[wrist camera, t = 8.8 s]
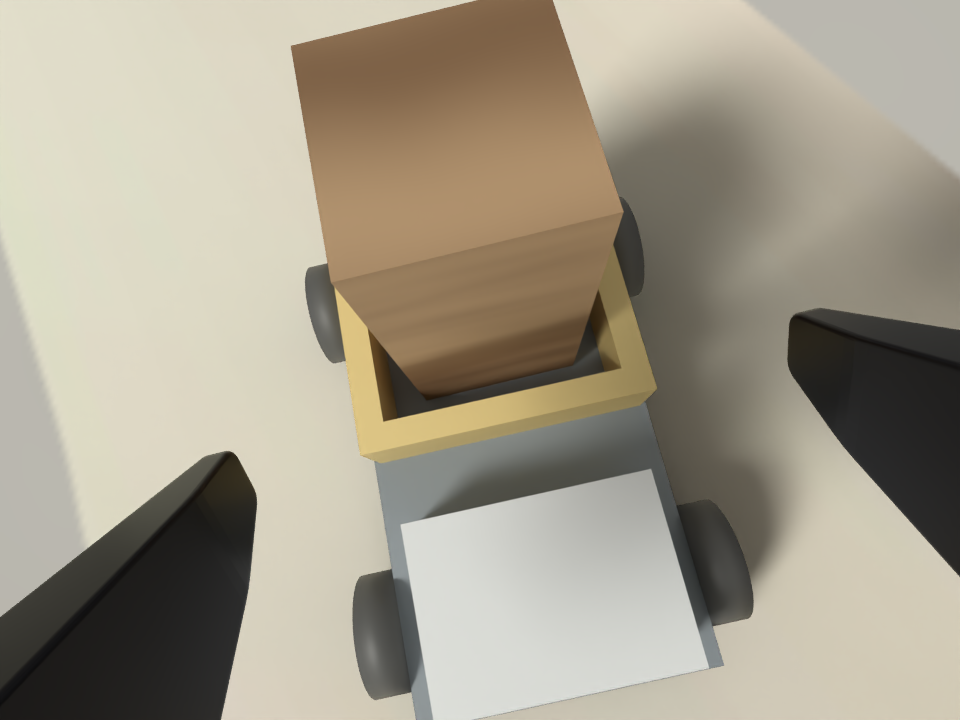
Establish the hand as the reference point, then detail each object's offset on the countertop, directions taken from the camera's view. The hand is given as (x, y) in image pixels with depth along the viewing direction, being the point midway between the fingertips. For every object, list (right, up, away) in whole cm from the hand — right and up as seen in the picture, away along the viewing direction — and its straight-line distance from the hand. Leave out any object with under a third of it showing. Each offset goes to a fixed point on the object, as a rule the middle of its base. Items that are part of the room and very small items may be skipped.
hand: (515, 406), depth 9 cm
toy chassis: (+1, -2, +12) cm, 12 cm away
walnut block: (0, +2, +11) cm, 11 cm away
